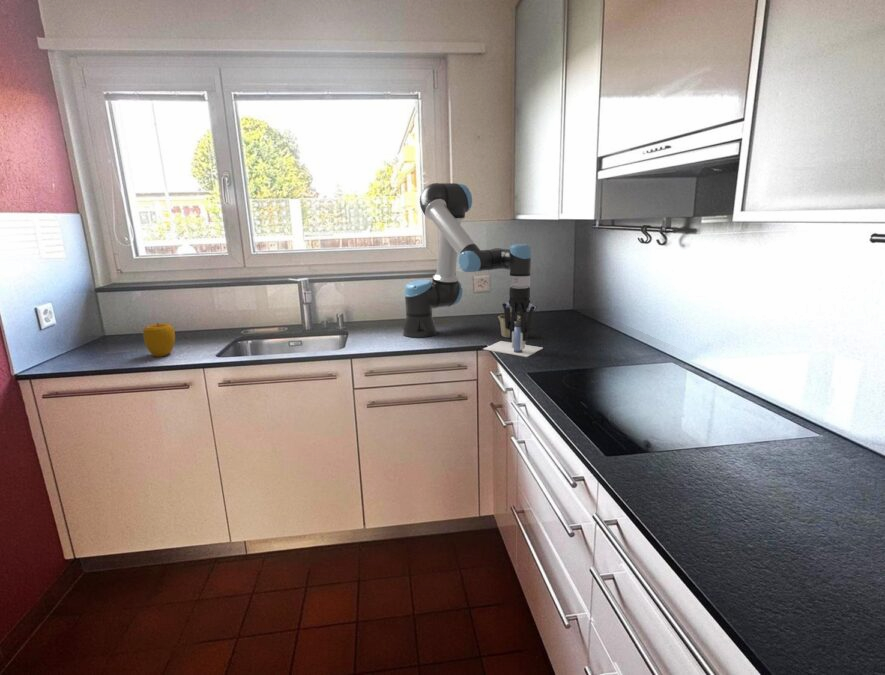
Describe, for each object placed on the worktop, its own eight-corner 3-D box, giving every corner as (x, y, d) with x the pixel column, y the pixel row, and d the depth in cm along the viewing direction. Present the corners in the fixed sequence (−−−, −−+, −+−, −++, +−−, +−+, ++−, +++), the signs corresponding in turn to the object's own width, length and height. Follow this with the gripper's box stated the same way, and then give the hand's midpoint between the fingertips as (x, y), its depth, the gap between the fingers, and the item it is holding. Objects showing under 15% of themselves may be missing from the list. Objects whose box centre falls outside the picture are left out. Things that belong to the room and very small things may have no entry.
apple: (182, 354, 189) (177, 322, 186) (151, 360, 182) (145, 327, 178) (173, 349, 196) (168, 318, 193) (143, 355, 189) (137, 323, 186)
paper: (482, 349, 188) (482, 348, 187) (500, 341, 198) (500, 340, 198) (526, 357, 177) (526, 356, 176) (543, 348, 187) (543, 347, 187)
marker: (511, 351, 183) (512, 320, 180) (517, 349, 185) (517, 319, 182) (518, 353, 180) (519, 322, 177) (524, 351, 183) (525, 320, 180)
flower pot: (519, 333, 211) (519, 314, 209) (520, 339, 202) (521, 319, 200) (498, 333, 212) (498, 314, 210) (498, 338, 203) (498, 319, 201)
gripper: (495, 286, 178) (495, 347, 184) (535, 289, 169) (533, 353, 175) (505, 284, 184) (504, 343, 190) (544, 287, 175) (542, 348, 181)
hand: (518, 348), depth 182 cm, fingers closed on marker, 3 cm apart
